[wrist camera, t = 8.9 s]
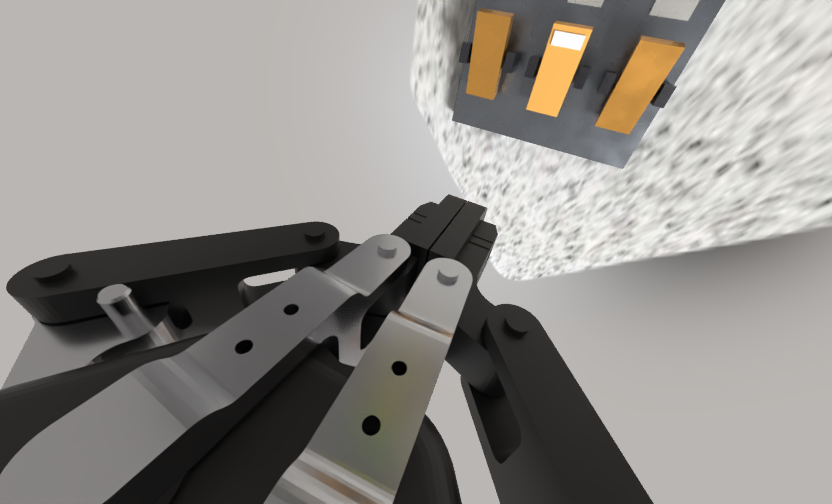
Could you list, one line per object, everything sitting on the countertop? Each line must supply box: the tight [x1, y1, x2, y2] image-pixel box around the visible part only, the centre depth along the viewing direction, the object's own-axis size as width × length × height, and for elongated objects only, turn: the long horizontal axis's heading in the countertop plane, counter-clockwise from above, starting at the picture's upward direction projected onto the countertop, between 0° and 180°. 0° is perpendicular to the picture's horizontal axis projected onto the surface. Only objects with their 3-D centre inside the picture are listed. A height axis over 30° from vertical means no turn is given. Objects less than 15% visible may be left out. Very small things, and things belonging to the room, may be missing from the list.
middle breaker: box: [526, 20, 594, 117], centre depth 27 cm, size 3×7×1 cm, turn 171°
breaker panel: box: [452, 0, 725, 169], centre depth 28 cm, size 19×14×6 cm
